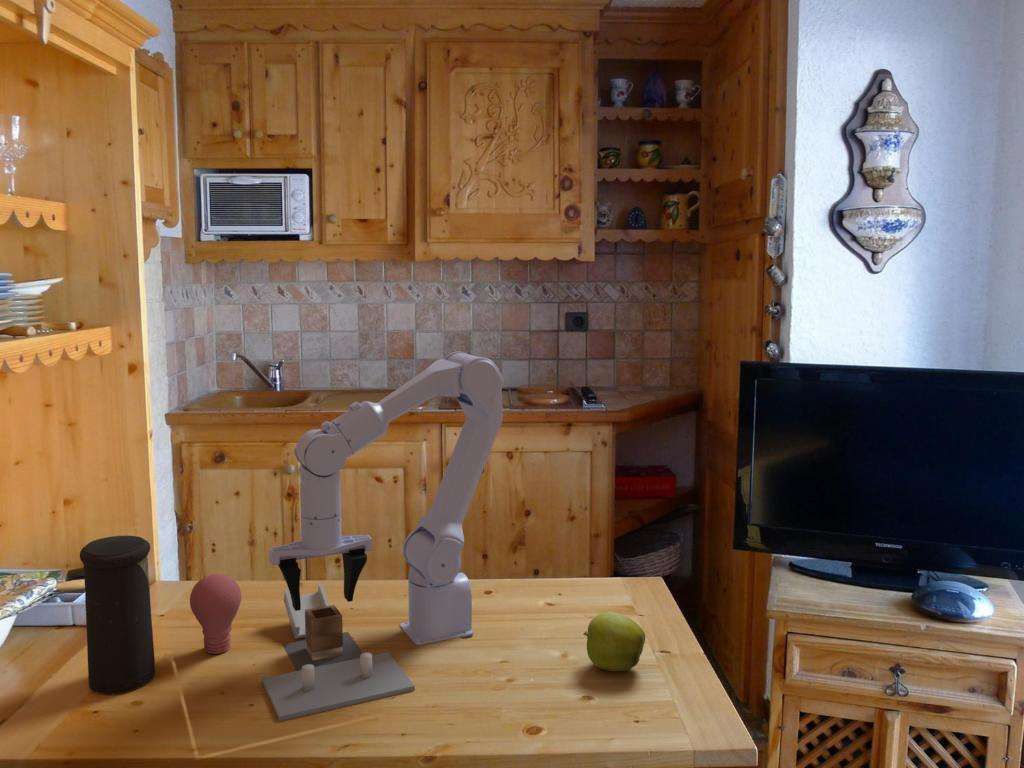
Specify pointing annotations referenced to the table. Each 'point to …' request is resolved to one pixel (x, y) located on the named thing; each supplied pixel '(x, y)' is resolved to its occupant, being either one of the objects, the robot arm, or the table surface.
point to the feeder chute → (304, 608)
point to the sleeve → (323, 632)
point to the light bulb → (215, 609)
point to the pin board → (335, 685)
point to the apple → (614, 641)
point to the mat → (302, 658)
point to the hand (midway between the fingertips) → (322, 603)
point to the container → (118, 614)
